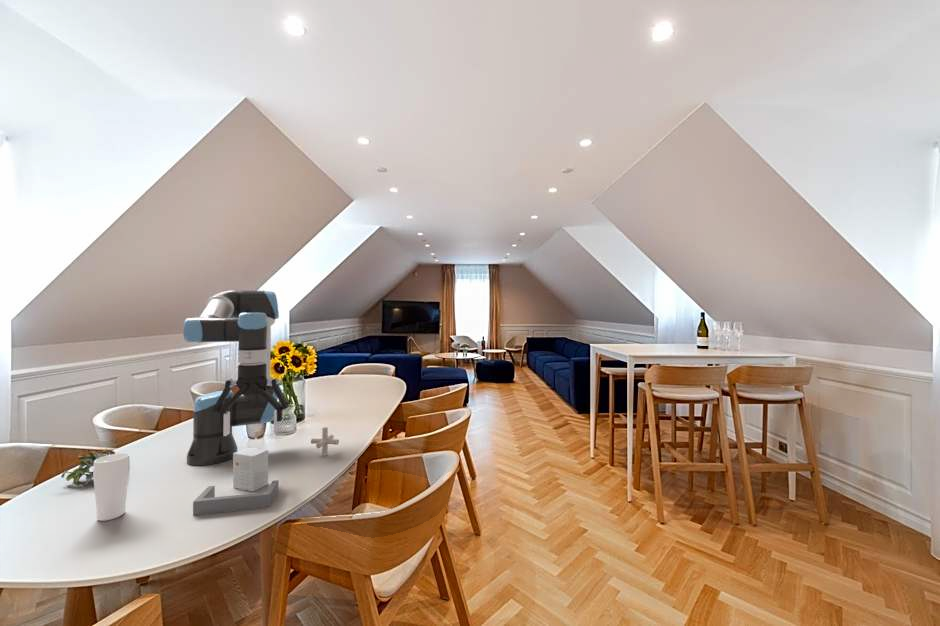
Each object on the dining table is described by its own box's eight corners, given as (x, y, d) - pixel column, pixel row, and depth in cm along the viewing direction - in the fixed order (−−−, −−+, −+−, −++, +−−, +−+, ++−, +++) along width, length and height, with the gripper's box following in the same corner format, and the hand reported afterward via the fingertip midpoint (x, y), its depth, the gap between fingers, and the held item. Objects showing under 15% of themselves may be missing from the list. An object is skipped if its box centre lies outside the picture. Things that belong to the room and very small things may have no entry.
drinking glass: (86, 526, 92) (87, 464, 92) (100, 512, 98) (101, 454, 98) (122, 520, 94) (123, 460, 94) (133, 507, 101) (134, 451, 101)
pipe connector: (343, 450, 144) (343, 424, 144) (331, 460, 134) (331, 432, 134) (318, 449, 145) (318, 423, 145) (304, 459, 135) (305, 431, 135)
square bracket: (193, 515, 97) (193, 501, 97) (208, 498, 106) (208, 486, 106) (269, 507, 101) (269, 494, 101) (278, 492, 110) (278, 480, 110)
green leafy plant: (107, 493, 120) (136, 459, 123) (79, 503, 109) (112, 465, 113) (76, 473, 119) (106, 440, 123) (45, 482, 109) (79, 445, 112)
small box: (268, 484, 115) (269, 449, 115) (252, 492, 110) (253, 456, 110) (248, 480, 117) (249, 446, 118) (232, 488, 112) (232, 452, 112)
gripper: (199, 366, 107) (199, 440, 107) (294, 364, 113) (293, 434, 113) (211, 362, 115) (210, 431, 115) (299, 361, 120) (298, 427, 121)
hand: (251, 433), depth 114 cm, fingers open, 13 cm apart
